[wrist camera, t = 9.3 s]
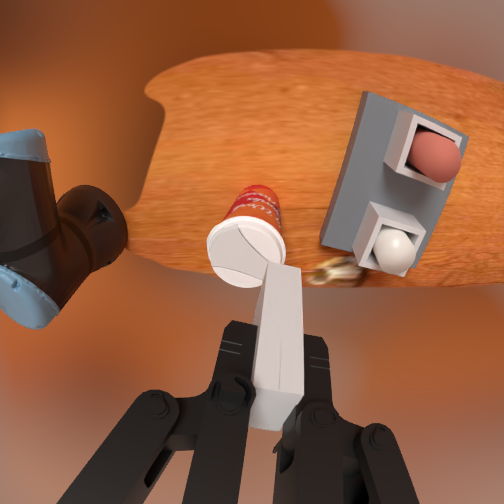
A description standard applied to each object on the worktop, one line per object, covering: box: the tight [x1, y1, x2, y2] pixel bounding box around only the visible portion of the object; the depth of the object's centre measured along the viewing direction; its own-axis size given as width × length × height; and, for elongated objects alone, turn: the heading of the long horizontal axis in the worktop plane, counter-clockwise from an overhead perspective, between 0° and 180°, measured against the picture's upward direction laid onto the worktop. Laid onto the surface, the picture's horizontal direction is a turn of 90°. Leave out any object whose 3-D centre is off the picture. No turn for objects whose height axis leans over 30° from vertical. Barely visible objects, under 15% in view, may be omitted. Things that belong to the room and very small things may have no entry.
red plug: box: [406, 128, 461, 183], centre depth 29 cm, size 5×5×7 cm
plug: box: [372, 224, 416, 274], centre depth 37 cm, size 5×5×7 cm
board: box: [320, 91, 469, 277], centre depth 35 cm, size 16×22×8 cm
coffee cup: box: [207, 185, 286, 288], centre depth 37 cm, size 8×8×15 cm
